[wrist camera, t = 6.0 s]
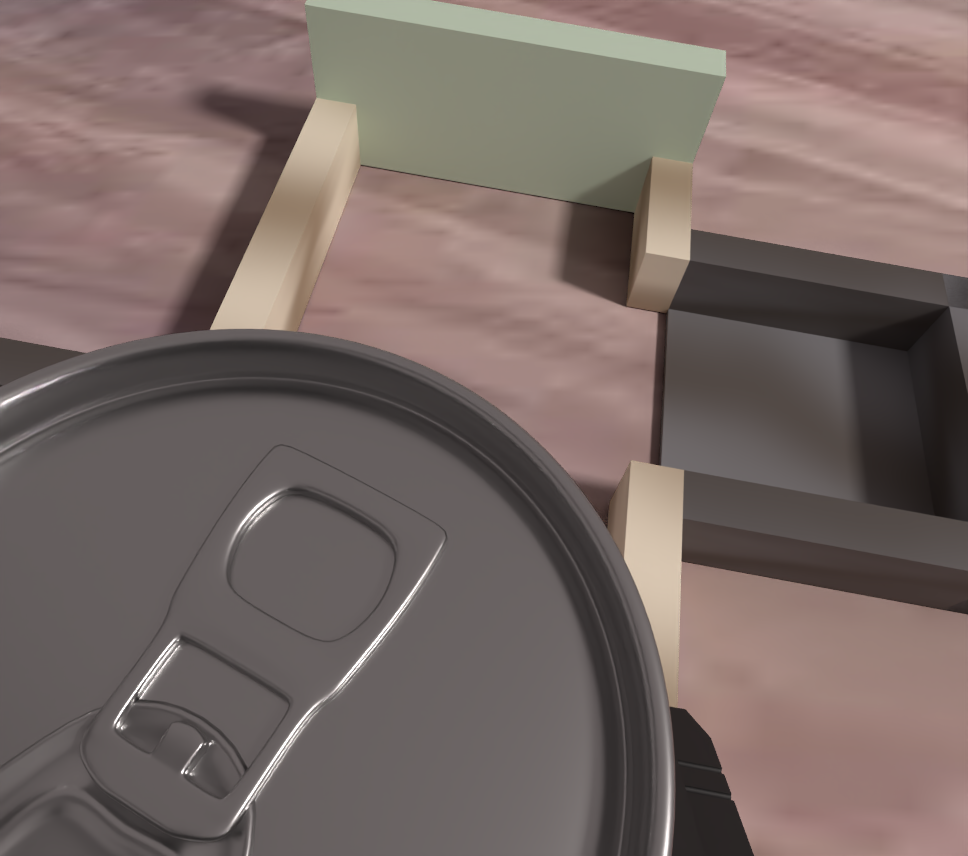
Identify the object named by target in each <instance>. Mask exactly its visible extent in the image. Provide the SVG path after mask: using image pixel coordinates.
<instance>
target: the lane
mask: <svg viewBox="0 0 968 856" xmlns="http://www.w3.org/2000/svg"><path fill="white" fill-rule="evenodd" d="M360 165H361V163H360V150H359V137H358V125H357V112H356V105H355V104H349V103H343V102H338V101H332V100H326V99H320V98H316V100H315V103H314V105H313V107H312V109H311V111H310V113H309V116H308V118H307V120H306V122H305V124H304V126H303V129H302V131H301V133H300V135H299V137H298V139H297V142H296V144H295V146H294V148H293V150H292V153H291V155H290V157H289V159H288V161H287V163H286V166H285V168H284V170H283V172H282V174H281V176H280V179H279V181H278V183H277V185H276V187H275V189H274V192H273V194H272V196H271V198H270V200H269V202H268V205H267V207H266V209H265V211H264V213H263V215H262V218H261V220H260V222H259V224H258V226H257V228H256V231H255V233H254V235H253V237H252V239H251V241H250V244H249V246H248V248H247V250H246V252H245V254H244V257H243V259H242V261H241V263H240V265H239V267H238V270H237V272H236V274H235V276H234V278H233V280H232V283H231V285H230V287H229V289H228V291H227V293H226V296H225V298H224V300H223V302H222V304H221V306H220V309H219V311H218V313H217V315H216V317H215V319H214V322H213V324H212V326H211V328H210V330H217V329H271V330H285V331H295V332H297V330H298V328H299V325H300V322H301V320H302V317H303V314H304V312H305V309H306V307H307V304H308V301H309V299H310V296H311V293H312V291H313V288H314V286H315V283H316V280H317V278H318V275H319V273H320V270H321V267H322V265H323V262H324V259H325V257H326V254H327V252H328V249H329V246H330V244H331V241H332V238H333V236H334V233H335V231H336V228H337V225H338V223H339V220H340V217H341V215H342V212H343V210H344V207H345V204H346V202H347V199H348V196H349V194H350V191H351V189H352V186H353V183H354V181H355V178H356V176H357V173H358V170H359V168H360ZM692 169H693V163H688V162H682V161H676V160H671V159H665V158H659V157H654V156H653V157H652V160H651V163H650V166H649V169H648V172H647V175H646V178H645V182H644V185H643V188H642V191H641V194H640V197H639V200H638V203H637V206H636V209H635V212H634V223H633V234H632V246H631V258H630V269H629V281H628V292H627V304H626V306H629V307H634V308H640V309H645V310H651V311H657V312H662V313H667V316H666V336H665V357H664V378H663V399H662V419H661V440H660V461H659V465H654V464H648V463H643V462H637V461H632V460H631V461H630V463H629V465H628V467H627V469H626V471H625V473H624V475H623V477H622V479H621V481H620V483H619V485H618V487H617V489H616V491H615V493H614V495H613V497H612V499H611V501H610V502H609V514H608V526H607V529H608V531H609V532H610V534H611V536H612V538H613V540H614V541H615V543H616V545H617V547H618V548H619V550H620V552H621V554H622V556H623V558H624V560H625V562H626V564H627V566H628V568H629V571H630V573H631V575H632V577H633V580H634V582H635V584H636V586H637V589H638V591H639V594H640V596H641V599H642V602H643V604H644V607H645V610H646V613H647V615H648V618H649V621H650V624H651V627H652V631H653V634H654V638H655V641H656V644H657V648H658V652H659V656H660V660H661V664H662V668H663V673H664V678H665V683H666V688H667V694H668V700H669V706H670V707H675V708H677V701H678V666H679V630H680V595H681V561H684V562H690V563H695V564H701V565H706V566H711V567H717V568H722V569H728V570H733V571H738V572H744V573H749V574H755V575H760V576H765V577H771V578H776V579H782V580H787V581H792V582H798V583H803V584H809V585H814V586H819V587H825V588H830V589H836V590H841V591H846V592H852V593H857V594H863V595H868V596H873V597H879V598H884V599H890V600H895V601H900V602H906V603H911V604H917V605H922V606H927V607H933V608H938V609H944V610H949V611H954V612H960V613H965V614H968V278H965V277H960V276H954V275H948V274H943V273H937V272H931V271H926V270H920V269H914V268H909V267H903V266H897V265H891V264H886V263H880V262H874V261H869V260H863V259H857V258H852V257H846V256H840V255H835V254H829V253H823V252H818V251H812V250H806V249H801V248H795V247H789V246H783V245H778V244H772V243H766V242H761V241H755V240H749V239H744V238H738V237H732V236H727V235H721V234H715V233H710V232H704V231H698V230H693V229H691V205H692ZM82 354H86V353H82V352H77V351H71V350H66V349H60V348H55V347H49V346H44V345H38V344H33V343H27V342H22V341H17V340H11V339H6V338H0V387H1V386H4V385H6V384H8V383H10V382H12V381H14V380H16V379H19V378H21V377H23V376H26V375H28V374H30V373H33V372H35V371H38V370H40V369H43V368H45V367H48V366H51V365H53V364H56V363H59V362H61V361H64V360H67V359H70V358H73V357H76V356H79V355H82Z"/></svg>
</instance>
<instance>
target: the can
mask: <svg viewBox="0 0 968 856" xmlns="http://www.w3.org/2000/svg"><path fill="white" fill-rule="evenodd" d="M674 820H675V758H674V741H673V731H672V722H671V714H670V707H669V700H668V694H667V688H666V683H665V678H664V673H663V668H662V664H661V660H660V656H659V652H658V648H657V644H656V641H655V638H654V634H653V631H652V627H651V624H650V621H649V618H648V615H647V613H646V610H645V607H644V604H643V602H642V599H641V596H640V594H639V591H638V589H637V586H636V584H635V582H634V580H633V577H632V575H631V573H630V571H629V568H628V566H627V564H626V562H625V560H624V558H623V556H622V554H621V552H620V550H619V548H618V547H617V545H616V543H615V541H614V540H613V538H612V536H611V534H610V532H609V531H608V529H607V527H606V526H605V524H604V523H603V521H602V519H601V518H600V516H599V515H598V513H597V512H596V510H595V509H594V507H593V506H592V505H591V503H590V502H589V500H588V499H587V497H586V496H585V495H584V493H583V492H582V491H581V490H580V488H579V487H578V486H577V484H576V483H575V482H574V481H573V479H572V478H571V477H570V476H569V475H568V473H567V472H566V471H565V470H564V469H563V468H562V466H561V465H560V464H559V463H558V462H557V461H556V460H555V459H554V458H553V457H552V456H551V454H550V453H549V452H548V451H547V450H546V449H545V448H543V447H542V446H541V445H540V444H539V443H538V442H537V441H536V440H535V439H534V438H533V437H532V436H531V435H530V434H529V433H528V432H526V431H525V430H524V429H523V428H522V427H521V426H519V425H518V424H517V423H516V422H515V421H513V420H512V419H511V418H510V417H508V416H507V415H506V414H504V413H503V412H502V411H501V410H499V409H498V408H497V407H495V406H494V405H492V404H491V403H489V402H488V401H486V400H485V399H484V398H482V397H480V396H479V395H477V394H476V393H474V392H473V391H471V390H469V389H468V388H466V387H464V386H463V385H461V384H459V383H457V382H455V381H454V380H452V379H450V378H448V377H446V376H444V375H442V374H440V373H438V372H436V371H434V370H432V369H430V368H428V367H425V366H423V365H421V364H419V363H416V362H414V361H411V360H409V359H407V358H404V357H401V356H398V355H396V354H393V353H390V352H387V351H384V350H381V349H378V348H375V347H371V346H368V345H364V344H360V343H357V342H353V341H348V340H344V339H339V338H334V337H329V336H324V335H318V334H311V333H304V332H295V331H285V330H271V329H217V330H203V331H191V332H183V333H175V334H168V335H162V336H156V337H150V338H145V339H140V340H135V341H131V342H126V343H122V344H118V345H114V346H110V347H106V348H103V349H99V350H95V351H92V352H89V353H86V354H82V355H79V356H76V357H73V358H70V359H67V360H64V361H61V362H59V363H56V364H53V365H51V366H48V367H45V368H43V369H40V370H38V371H35V372H33V373H30V374H28V375H26V376H23V377H21V378H19V379H16V380H14V381H12V382H10V383H8V384H6V385H4V386H1V387H0V856H671V855H672V847H673V834H674Z"/></svg>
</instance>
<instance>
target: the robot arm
mask: <svg viewBox="0 0 968 856" xmlns="http://www.w3.org/2000/svg"><path fill="white" fill-rule="evenodd" d="M669 707H670V706H669ZM670 714H671V722H672V731H673V741H674V758H675V820H674V834H673V847H672V855H671V856H754V854H753V852H752V849H751V846H750V844H749V841H748V838H747V835H746V833H745V830H744V827H743V825H742V822H741V819H740V816H739V814H738V811H737V808H736V805H735V803H734V801H732V800H731V792H730V789H729V786H728V784H727V781H726V778H725V775H724V774H722V773H721V770H722V767H721V765H720V762H719V759H718V756H717V754H716V751H715V748H714V746H713V743H712V740H711V738H710V737H709V735H708V734H707V733H706V732H705V731H704V730H703V729H702V728H701V726H700V725H699V724H698V723H697V722H696V721H695V720H694V719H693V717H692V716H691V715H690V714H689V713H688V712H687V711H686V710H685V709H680V708H675V707H670Z"/></svg>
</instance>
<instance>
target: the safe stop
mask: <svg viewBox="0 0 968 856" xmlns="http://www.w3.org/2000/svg"><path fill="white" fill-rule="evenodd" d="M305 11H306V19H307V27H308V34H309V42H310V50H311V58H312V65H313V73H314V81H315V89H316V96H317V98H320V99H326V100H332V101H338V102H343V103H349V104H355V105H356V112H357V125H358V137H359V150H360V163H361V165H366V166H371V167H377V168H383V169H388V170H394V171H400V172H405V173H411V174H417V175H423V176H428V177H434V178H440V179H445V180H451V181H457V182H462V183H468V184H474V185H479V186H485V187H491V188H497V189H502V190H508V191H514V192H519V193H525V194H531V195H536V196H542V197H548V198H553V199H559V200H565V201H571V202H576V203H582V204H588V205H593V206H599V207H605V208H610V209H616V210H622V211H627V212H633V213H634V212H635V209H636V206H637V203H638V200H639V197H640V194H641V191H642V188H643V185H644V182H645V178H646V175H647V172H648V169H649V166H650V163H651V160H652V157H653V156H654V157H659V158H665V159H671V160H676V161H682V162H688V163H693V161H694V159H695V156H696V153H697V151H698V148H699V146H700V143H701V140H702V138H703V135H704V133H705V130H706V127H707V125H708V122H709V120H710V117H711V114H712V112H713V109H714V107H715V104H716V101H717V99H718V96H719V94H720V91H721V88H722V86H723V83H724V81H725V78H726V51H724V50H718V49H712V48H707V47H701V46H695V45H689V44H683V43H677V42H671V41H666V40H660V39H654V38H648V37H642V36H636V35H630V34H625V33H619V32H613V31H607V30H601V29H595V28H589V27H584V26H578V25H572V24H566V23H560V22H554V21H548V20H543V19H537V18H531V17H525V16H519V15H513V14H507V13H502V12H496V11H490V10H484V9H478V8H472V7H466V6H461V5H455V4H449V3H443V2H437V1H431V0H307V1H306V3H305Z"/></svg>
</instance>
